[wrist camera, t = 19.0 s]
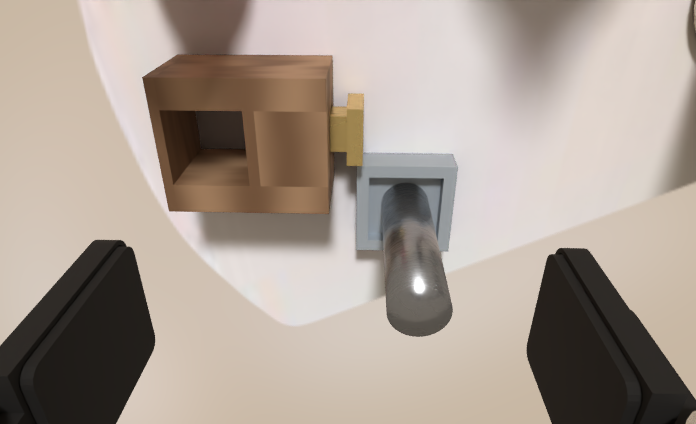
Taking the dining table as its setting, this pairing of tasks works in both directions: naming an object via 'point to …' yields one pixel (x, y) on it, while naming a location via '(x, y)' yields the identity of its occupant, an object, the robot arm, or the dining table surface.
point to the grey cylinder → (413, 263)
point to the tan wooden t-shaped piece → (348, 129)
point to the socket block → (245, 132)
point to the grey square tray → (395, 168)
